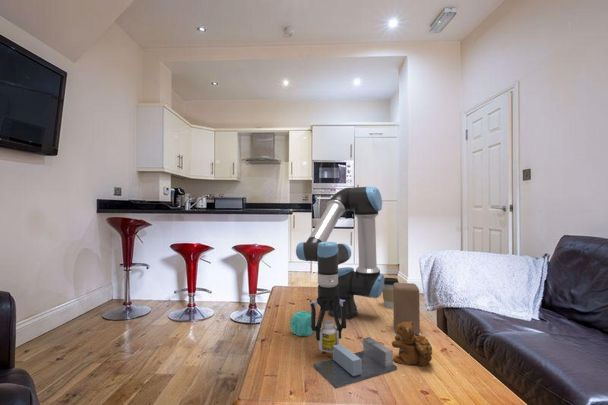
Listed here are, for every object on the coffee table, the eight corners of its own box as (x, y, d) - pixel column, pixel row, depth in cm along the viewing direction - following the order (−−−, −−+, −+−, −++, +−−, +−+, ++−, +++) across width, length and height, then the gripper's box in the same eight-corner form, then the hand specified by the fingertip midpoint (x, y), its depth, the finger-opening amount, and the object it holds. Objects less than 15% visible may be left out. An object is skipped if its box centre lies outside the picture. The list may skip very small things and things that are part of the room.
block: (420, 336, 127) (419, 288, 128) (395, 334, 129) (395, 287, 130) (416, 327, 137) (415, 283, 137) (393, 325, 139) (393, 282, 139)
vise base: (313, 366, 102) (313, 348, 103) (370, 351, 113) (370, 335, 113) (335, 388, 90) (335, 367, 90) (397, 369, 100) (396, 351, 101)
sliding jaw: (332, 359, 105) (332, 345, 105) (341, 357, 106) (341, 343, 106) (353, 376, 94) (353, 361, 94) (362, 373, 95) (362, 358, 96)
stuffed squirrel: (399, 350, 114) (398, 315, 115) (438, 362, 105) (437, 324, 106) (388, 360, 107) (387, 322, 107) (429, 374, 98) (429, 333, 98)
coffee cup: (401, 305, 168) (401, 278, 168) (396, 310, 160) (396, 282, 160) (384, 302, 173) (383, 276, 174) (378, 307, 165) (378, 279, 165)
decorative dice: (289, 333, 130) (289, 314, 131) (302, 327, 136) (302, 310, 136) (303, 338, 125) (303, 318, 125) (315, 332, 131) (315, 314, 131)
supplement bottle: (320, 352, 108) (320, 324, 108) (321, 345, 113) (321, 319, 113) (336, 353, 107) (335, 325, 107) (336, 346, 112) (336, 319, 112)
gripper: (304, 288, 105) (305, 355, 105) (355, 286, 108) (356, 351, 108) (301, 283, 113) (302, 345, 112) (349, 280, 115) (350, 341, 115)
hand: (328, 348), depth 110 cm, fingers closed on supplement bottle, 5 cm apart
